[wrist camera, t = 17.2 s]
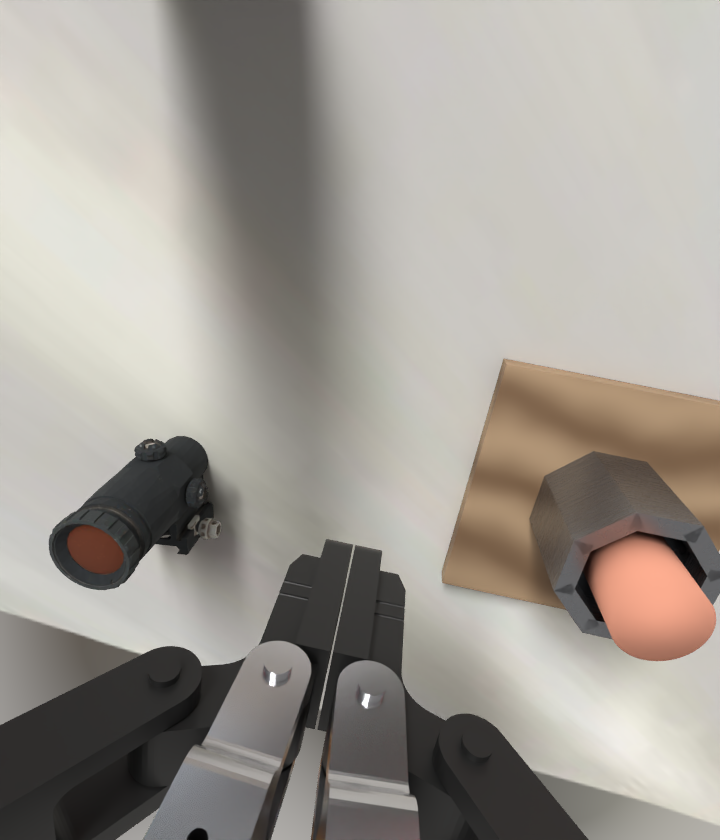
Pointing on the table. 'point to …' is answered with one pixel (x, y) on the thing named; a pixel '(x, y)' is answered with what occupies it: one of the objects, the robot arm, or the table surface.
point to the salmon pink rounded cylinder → (649, 598)
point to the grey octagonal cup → (612, 527)
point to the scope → (137, 515)
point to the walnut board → (560, 445)
